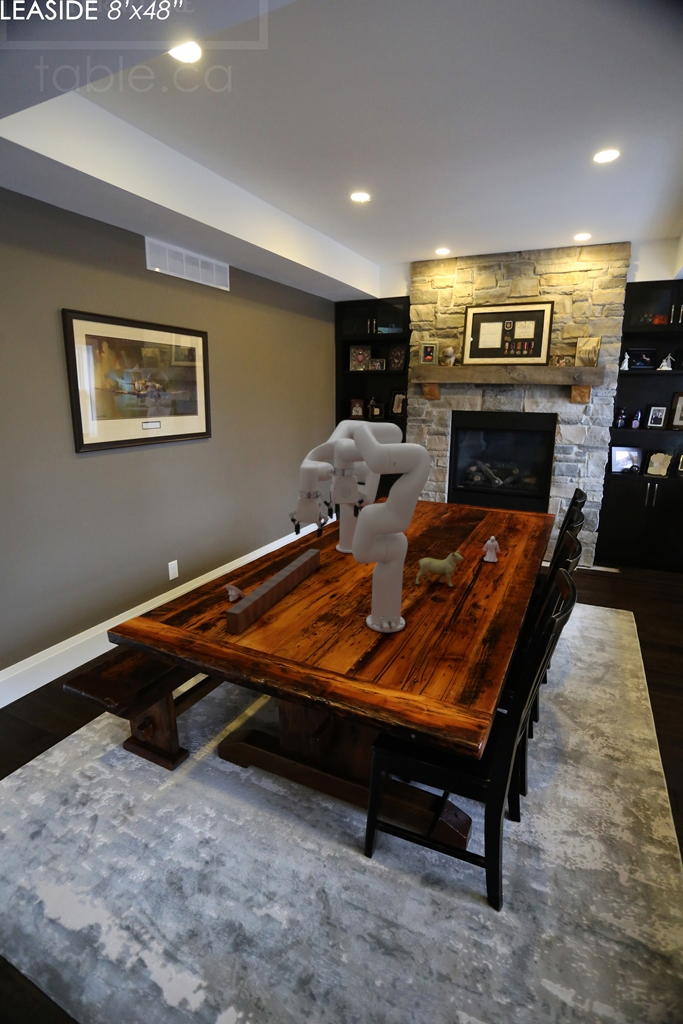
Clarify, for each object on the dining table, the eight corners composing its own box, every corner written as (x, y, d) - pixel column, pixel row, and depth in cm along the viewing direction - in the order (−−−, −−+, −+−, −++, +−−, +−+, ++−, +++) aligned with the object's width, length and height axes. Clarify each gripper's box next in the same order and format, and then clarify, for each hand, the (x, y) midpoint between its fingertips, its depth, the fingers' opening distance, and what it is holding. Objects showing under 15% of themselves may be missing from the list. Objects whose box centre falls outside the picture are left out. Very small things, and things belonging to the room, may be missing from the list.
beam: (239, 634, 154) (238, 613, 152) (226, 631, 156) (225, 611, 154) (319, 565, 215) (320, 549, 213) (310, 563, 217) (310, 548, 215)
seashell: (231, 609, 179) (216, 592, 179) (241, 599, 183) (227, 583, 182) (239, 604, 173) (224, 587, 172) (250, 595, 177) (235, 577, 176)
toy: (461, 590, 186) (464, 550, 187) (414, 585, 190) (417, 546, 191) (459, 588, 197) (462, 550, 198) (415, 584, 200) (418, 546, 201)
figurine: (481, 562, 222) (483, 536, 219) (482, 556, 230) (484, 531, 227) (499, 564, 220) (501, 538, 217) (499, 558, 228) (501, 533, 225)
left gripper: (332, 495, 202) (331, 535, 206) (293, 491, 208) (293, 531, 212) (325, 498, 195) (324, 540, 199) (285, 494, 201) (285, 535, 205)
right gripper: (323, 474, 178) (323, 521, 183) (369, 473, 183) (368, 518, 187) (318, 471, 185) (318, 516, 190) (363, 470, 190) (362, 513, 194)
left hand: (308, 535), depth 205 cm, fingers open, 9 cm apart
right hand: (343, 517), depth 188 cm, fingers open, 9 cm apart
